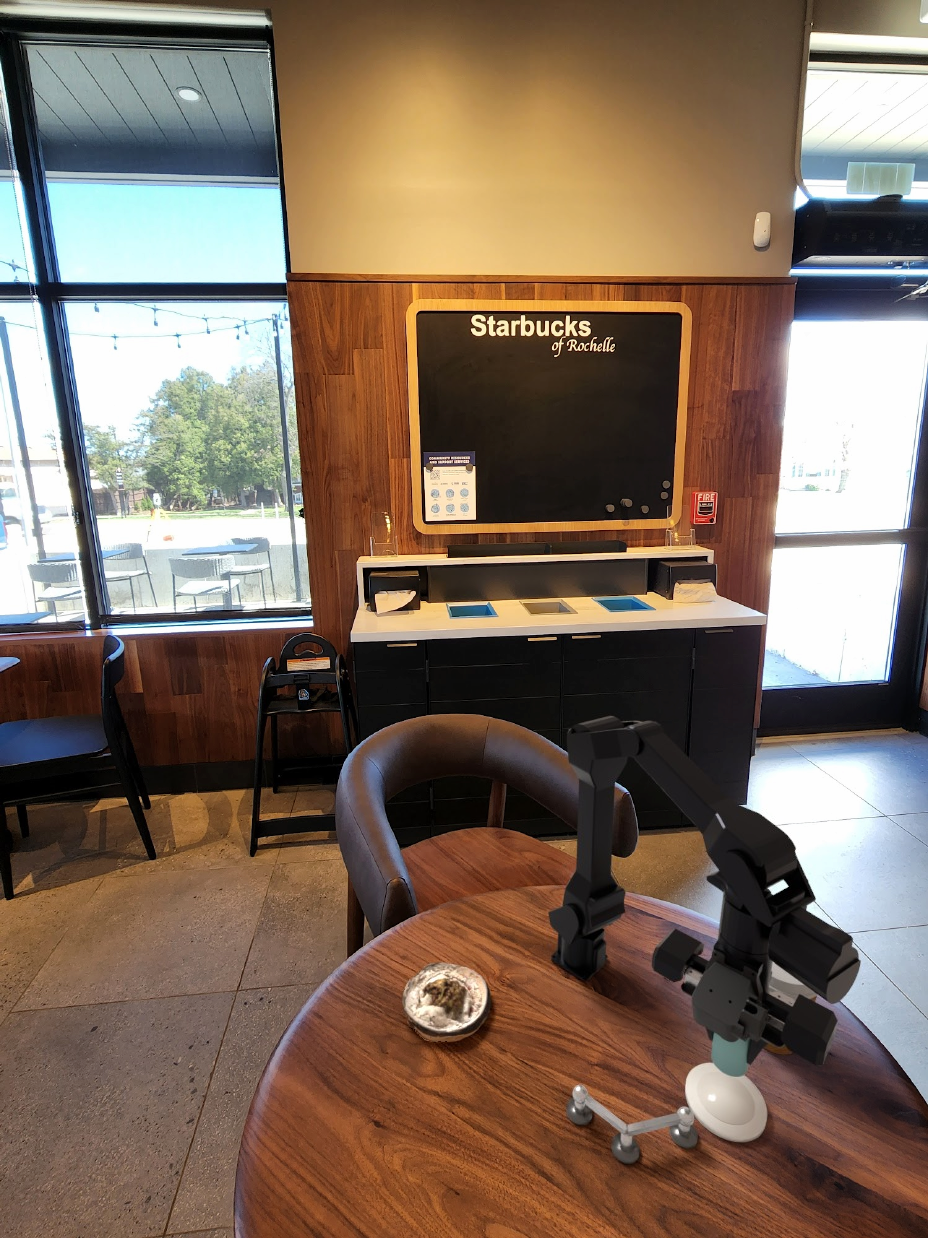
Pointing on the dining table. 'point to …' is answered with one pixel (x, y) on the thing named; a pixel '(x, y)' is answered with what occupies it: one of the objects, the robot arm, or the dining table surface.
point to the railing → (631, 1125)
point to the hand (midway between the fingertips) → (730, 1050)
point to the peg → (730, 1055)
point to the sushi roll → (446, 1002)
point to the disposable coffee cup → (790, 988)
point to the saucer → (726, 1103)
